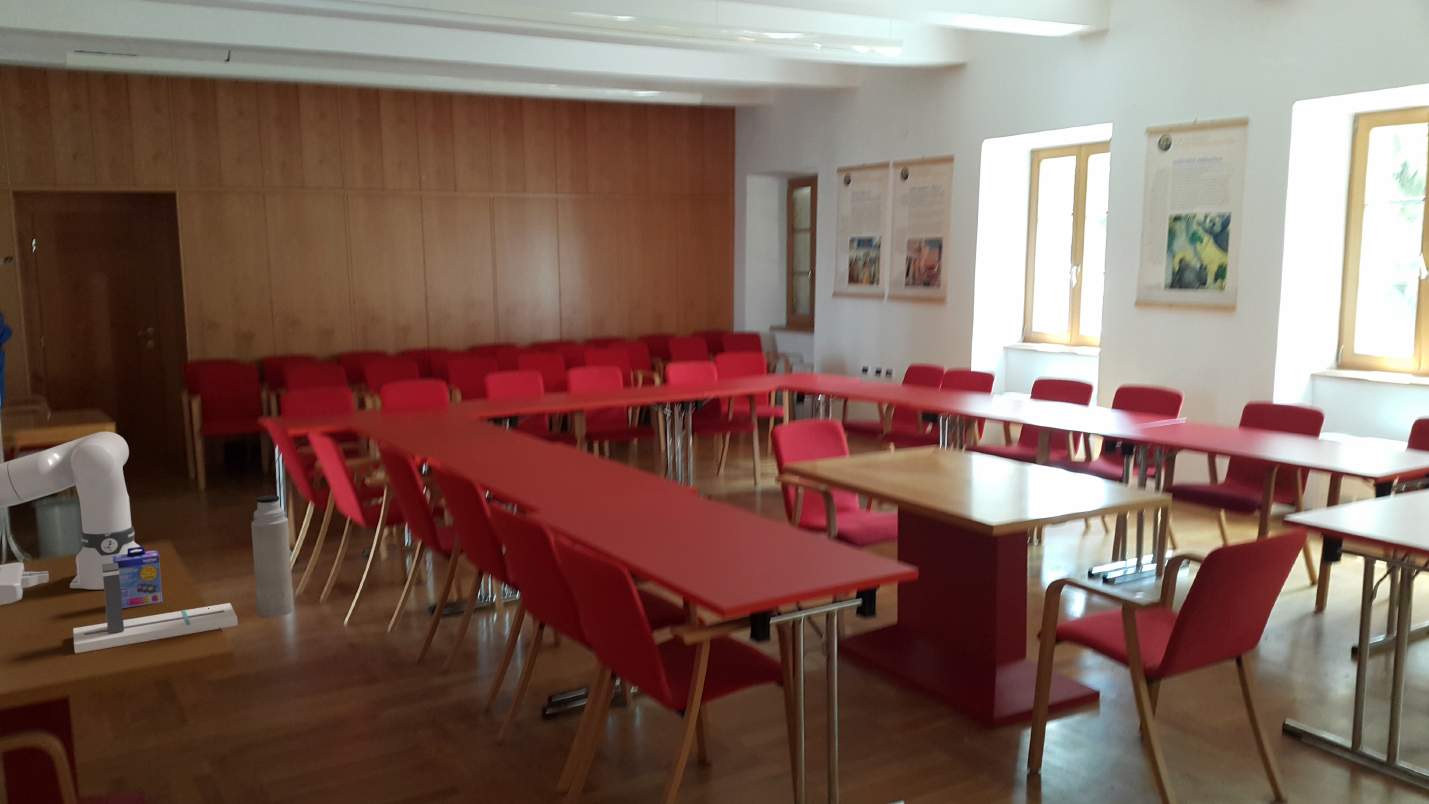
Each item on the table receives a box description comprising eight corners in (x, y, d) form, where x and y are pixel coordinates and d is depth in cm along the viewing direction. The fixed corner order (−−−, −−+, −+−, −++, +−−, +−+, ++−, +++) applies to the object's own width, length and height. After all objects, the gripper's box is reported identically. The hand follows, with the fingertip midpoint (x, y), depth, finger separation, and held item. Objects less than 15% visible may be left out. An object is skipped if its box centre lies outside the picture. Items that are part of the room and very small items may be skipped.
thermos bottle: (291, 604, 256) (283, 491, 252) (296, 614, 249) (288, 497, 246) (255, 610, 252) (247, 495, 249) (259, 620, 245) (251, 502, 242)
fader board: (74, 637, 235) (73, 627, 235) (230, 611, 252) (229, 602, 252) (74, 653, 225) (73, 643, 225) (237, 625, 242) (237, 616, 242)
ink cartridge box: (117, 610, 254) (112, 551, 252) (115, 604, 258) (110, 546, 256) (163, 602, 259) (159, 545, 257) (161, 596, 264) (156, 540, 262)
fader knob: (107, 625, 236) (101, 564, 234) (122, 622, 238) (117, 562, 236) (108, 633, 231) (102, 571, 229) (124, 630, 232) (118, 568, 231)
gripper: (-25, 589, 228) (50, 578, 235) (-33, 615, 211) (49, 602, 218) (-28, 561, 227) (47, 551, 234) (-36, 584, 210) (46, 573, 217)
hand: (48, 576), depth 226 cm, fingers closed
